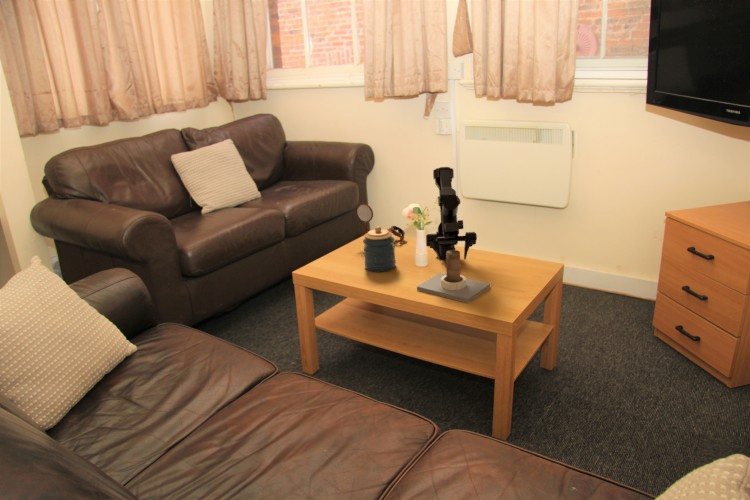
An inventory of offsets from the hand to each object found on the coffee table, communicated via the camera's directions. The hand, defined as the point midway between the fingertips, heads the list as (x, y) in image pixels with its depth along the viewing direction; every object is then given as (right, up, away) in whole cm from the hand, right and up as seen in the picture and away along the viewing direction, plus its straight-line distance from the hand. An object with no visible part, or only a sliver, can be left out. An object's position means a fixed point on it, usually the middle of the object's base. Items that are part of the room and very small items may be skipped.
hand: (452, 259), depth 219 cm
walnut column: (0, -9, +1) cm, 9 cm away
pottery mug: (-21, +7, +57) cm, 61 cm away
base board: (+1, -11, +2) cm, 11 cm away
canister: (-27, -3, +27) cm, 38 cm away
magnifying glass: (-33, +6, +54) cm, 63 cm away
